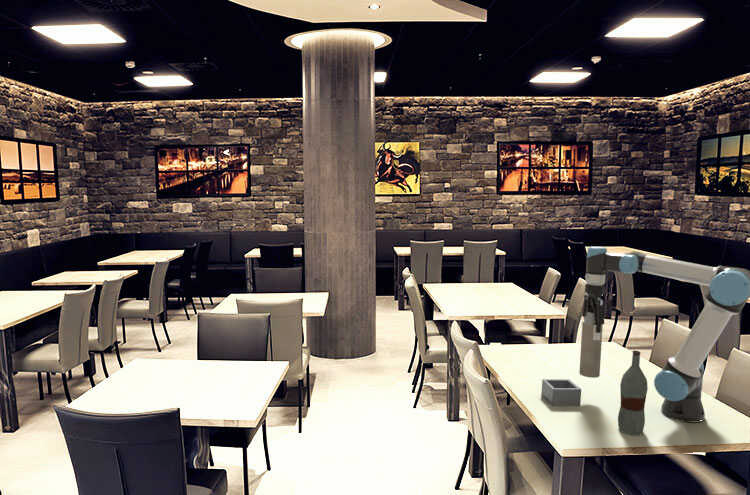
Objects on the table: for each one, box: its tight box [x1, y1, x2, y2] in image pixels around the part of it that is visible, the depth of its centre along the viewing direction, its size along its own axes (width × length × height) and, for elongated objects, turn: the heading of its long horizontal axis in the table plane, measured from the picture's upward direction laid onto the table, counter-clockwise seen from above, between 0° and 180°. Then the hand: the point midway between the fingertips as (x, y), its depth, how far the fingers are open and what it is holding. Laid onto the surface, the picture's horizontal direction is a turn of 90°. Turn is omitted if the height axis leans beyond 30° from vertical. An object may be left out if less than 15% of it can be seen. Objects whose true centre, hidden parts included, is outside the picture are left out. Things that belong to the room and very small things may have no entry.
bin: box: [541, 378, 582, 407], centre depth 230 cm, size 12×12×7 cm
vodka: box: [617, 350, 649, 436], centre depth 201 cm, size 9×9×30 cm
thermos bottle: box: [579, 309, 604, 379], centre depth 229 cm, size 8×8×28 cm
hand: (591, 337), depth 229 cm, fingers closed on thermos bottle, 8 cm apart
